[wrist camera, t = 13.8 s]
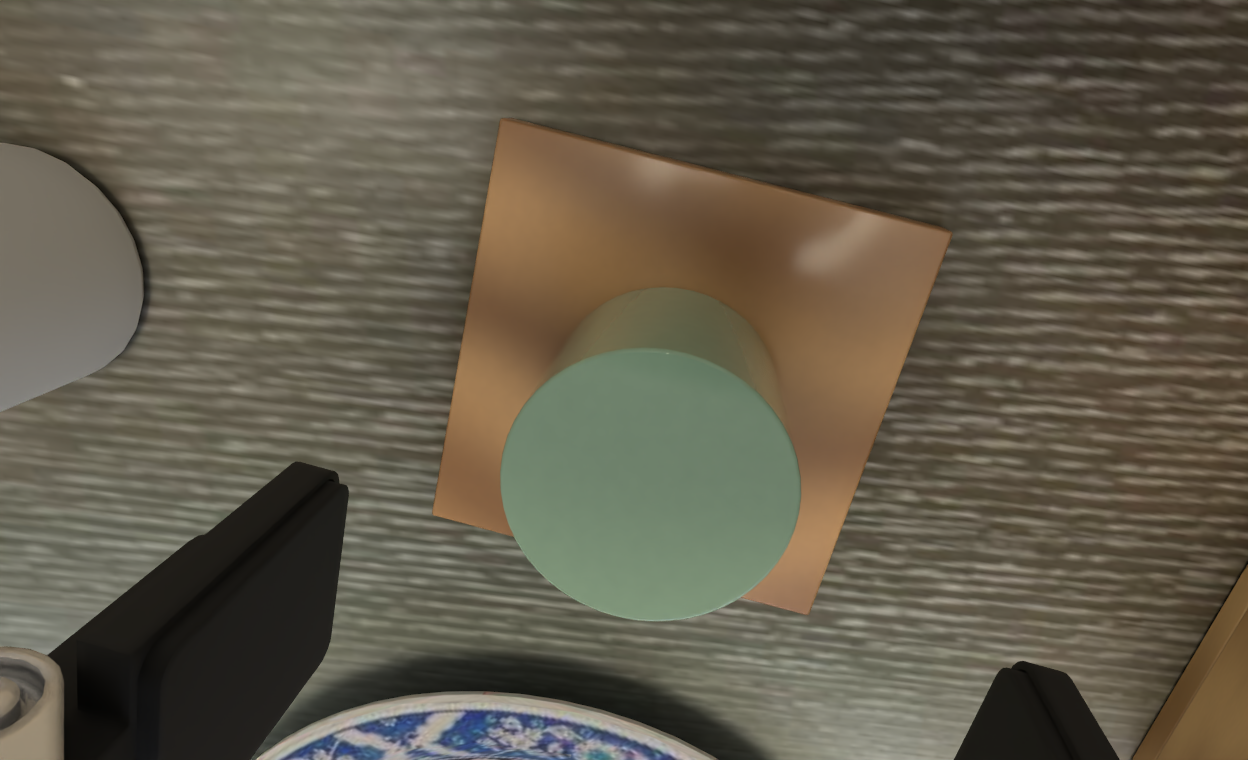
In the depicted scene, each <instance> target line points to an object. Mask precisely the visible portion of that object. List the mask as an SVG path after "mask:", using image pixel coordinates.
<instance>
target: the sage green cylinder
mask: <svg viewBox="0 0 1248 760" xmlns="http://www.w3.org/2000/svg"><path fill="white" fill-rule="evenodd" d="M500 490H501V496H502V503H503V508H504V511H505V514H506V518H507V521H508V524H509V526H510V529H511V531H512V533H513V535H514V537H515V540H516V541H517V543H518V545H519V546H520V548H521V550H522V551H523V553H524V554H525V556H526V557H527V558H528V560H529V561H530V562H531V563H532V565H533V566H534V567H535V568H536V570H538V571H539V572H540V573H541V574H542V575H543V576H544V577H545V578H546V579H547V580H548V581H549V582H550V583H551V584H553V585H554V586H555V587H556V588H558V589H559V590H560V591H562V592H563V593H564V594H566V595H568V596H569V597H571V598H573V599H574V600H576V601H578V602H579V603H582V604H584V605H586V606H588V607H590V608H593V609H595V610H597V611H600V612H603V613H606V614H609V615H613V616H617V617H621V618H626V619H631V620H640V621H674V620H682V619H688V618H692V617H696V616H700V615H704V614H707V613H710V612H712V611H715V610H718V609H720V608H723V607H725V606H726V605H728V604H730V603H732V602H734V601H736V600H738V599H739V598H741V597H742V596H744V595H745V594H746V593H748V592H749V591H751V590H752V589H753V588H754V587H755V586H757V585H758V584H759V583H760V582H761V581H762V580H763V579H764V578H765V577H766V576H767V575H768V574H769V573H770V571H771V570H772V569H773V568H774V567H775V565H776V564H777V563H778V561H779V560H780V558H781V557H782V555H783V553H784V552H785V550H786V549H787V547H788V545H789V542H790V540H791V538H792V535H793V533H794V531H795V527H796V523H797V520H798V516H799V511H800V503H801V475H800V470H799V464H798V459H797V454H796V450H795V446H794V442H793V438H792V434H791V430H790V426H789V421H788V417H787V413H786V409H785V405H784V401H783V397H782V393H781V389H780V384H779V380H778V376H777V372H776V369H775V366H774V363H773V360H772V357H771V355H770V353H769V351H768V349H767V347H766V345H765V343H764V342H763V340H762V339H761V337H760V336H759V334H758V333H757V332H756V330H755V329H754V328H753V327H752V326H751V325H750V324H749V323H748V321H747V320H745V319H744V318H743V317H742V316H741V315H740V314H738V313H737V312H736V311H735V310H733V309H732V308H730V307H729V306H727V305H726V304H724V303H722V302H720V301H718V300H716V299H714V298H712V297H710V296H708V295H705V294H702V293H698V292H695V291H692V290H686V289H681V288H670V287H656V288H645V289H641V290H636V291H631V292H628V293H625V294H623V295H620V296H617V297H615V298H613V299H611V300H609V301H607V302H605V303H603V304H602V305H600V306H599V307H597V308H596V309H595V310H593V311H592V312H591V313H589V314H588V315H587V316H586V317H585V318H584V319H583V320H582V321H581V322H580V323H579V324H578V325H577V327H576V328H575V329H574V330H573V331H572V333H571V334H570V336H569V337H568V339H567V340H566V342H565V343H564V345H563V346H562V348H561V349H560V351H559V352H558V354H557V355H556V357H555V358H554V360H553V361H552V363H551V364H550V366H549V368H548V369H547V371H546V372H545V374H544V375H543V377H542V378H541V380H540V381H539V383H538V384H537V386H536V387H535V389H534V390H533V392H532V393H531V395H530V396H529V398H528V399H527V401H526V402H525V404H524V406H523V407H522V409H521V410H520V412H519V414H518V415H517V417H516V418H515V420H514V422H513V424H512V427H511V429H510V431H509V433H508V436H507V439H506V442H505V446H504V449H503V453H502V460H501V468H500Z"/></svg>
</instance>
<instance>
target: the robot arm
mask: <svg viewBox="0 0 1248 760" xmlns="http://www.w3.org/2000/svg"><path fill="white" fill-rule="evenodd" d="M348 496H349V490H348V487H347V486H346V485H343V484H339V477H338V474H337V473H336V472H335V471H331V470H328V469H324V468H320V467H317V466H313V465H309V464H306V463H302V462H295V463H293V464H291V465H290V466H289V467H287V468H286V469H285V470H284V471H283V472H281V473H280V474H279V475H278V476H276V477H275V478H274V479H273V480H272V481H270V482H269V483H268V484H267V485H265V486H264V487H263V488H262V489H261V490H259V491H258V492H257V493H256V494H254V495H253V496H252V497H251V498H250V499H248V500H247V501H246V502H245V503H243V504H242V505H241V506H240V507H238V508H237V509H236V510H235V511H234V512H232V513H231V514H230V515H229V516H227V517H226V518H225V519H224V520H223V521H221V522H220V523H219V524H218V525H216V526H215V527H214V528H213V529H212V530H210V531H209V532H208V533H207V534H205V535H200V536H197V537H195V538H194V539H192V540H190V541H189V542H188V543H186V544H185V545H184V546H183V547H181V548H180V549H179V550H178V551H176V552H175V553H174V554H173V555H171V556H170V557H169V558H168V559H166V560H165V561H164V562H163V563H161V564H160V565H159V566H158V567H156V568H155V569H154V570H153V571H151V572H150V573H149V574H148V575H147V576H145V577H144V578H143V579H142V580H140V581H139V582H138V583H137V584H135V585H134V586H133V587H132V588H130V589H129V590H128V591H127V592H125V593H124V594H123V595H122V596H120V597H119V598H118V599H117V600H115V601H114V602H113V603H112V604H110V605H109V606H108V607H107V608H106V609H104V610H103V611H102V612H101V613H99V614H98V615H97V616H96V617H94V618H93V619H92V620H91V621H89V622H88V623H87V624H86V625H84V626H83V627H82V628H81V629H79V630H78V631H77V632H76V633H74V634H73V635H72V636H71V637H69V638H68V639H67V640H66V641H64V642H63V643H62V644H61V645H60V646H58V647H57V648H56V649H55V650H53V651H52V652H51V653H50V654H48V655H44V654H42V653H39V652H36V651H34V650H31V649H26V648H16V647H7V646H6V647H0V760H250V759H251V758H252V756H253V755H254V753H255V752H256V751H257V749H258V748H259V747H260V745H261V744H262V743H263V741H264V740H265V738H266V737H267V736H268V734H269V733H270V732H271V730H272V729H273V728H274V726H275V725H276V723H277V722H278V721H279V719H280V718H281V717H282V715H283V714H284V713H285V711H286V710H287V708H288V707H289V706H290V704H291V703H292V702H293V700H294V699H295V698H296V696H297V695H298V693H299V692H300V691H301V689H302V688H303V687H304V685H305V684H306V683H307V681H308V680H309V678H310V677H311V676H312V674H313V673H314V672H315V670H316V669H317V668H318V666H319V665H320V663H321V662H322V660H323V658H324V656H325V654H326V652H327V649H328V646H329V643H330V639H331V633H332V625H333V617H334V609H335V601H336V593H337V585H338V577H339V569H340V561H341V553H342V545H343V536H344V528H345V520H346V512H347V504H348ZM954 760H1119V758H1118V756H1117V755H1116V753H1115V751H1114V750H1113V748H1112V746H1111V745H1110V743H1109V741H1108V740H1107V738H1106V736H1105V735H1104V733H1103V731H1102V729H1101V728H1100V726H1099V724H1098V723H1097V721H1096V719H1095V718H1094V716H1093V714H1092V713H1091V711H1090V709H1089V708H1088V706H1087V704H1086V703H1085V701H1084V699H1083V698H1082V696H1081V694H1080V693H1079V691H1078V689H1077V688H1076V686H1075V684H1074V683H1073V681H1072V679H1071V678H1070V677H1069V676H1068V675H1067V674H1066V673H1064V672H1061V671H1058V670H1054V669H1050V668H1047V667H1043V666H1039V665H1036V664H1032V663H1029V662H1025V661H1020V662H1017V663H1016V664H1015V665H1013V667H1012V668H1011V669H1010V668H1003V669H1001V670H1000V671H999V672H998V674H997V675H996V677H995V679H994V681H993V683H992V685H991V687H990V689H989V691H988V693H987V695H986V697H985V699H984V701H983V703H982V705H981V707H980V709H979V711H978V713H977V715H976V717H975V719H974V721H973V723H972V725H971V727H970V729H969V731H968V733H967V735H966V737H965V739H964V741H963V743H962V745H961V747H960V749H959V751H958V753H957V755H956V757H955V759H954Z"/></svg>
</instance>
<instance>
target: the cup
mask: <svg viewBox="0 0 1248 760" xmlns="http://www.w3.org/2000/svg"><path fill="white" fill-rule="evenodd" d="M143 299H144V286H143V268H142V265H141V261H140V258H139V254H138V251H137V248H136V244H135V241H134V239H133V237H132V235H131V233H130V231H129V230H128V228H127V226H126V224H125V222H124V220H123V218H122V217H121V215H120V213H119V212H118V211H117V209H116V208H115V207H114V206H113V205H112V203H111V202H110V201H109V200H108V199H107V198H106V196H105V195H104V194H103V193H102V192H101V191H100V189H99V188H98V187H96V186H95V185H94V184H92V183H91V182H90V181H89V180H87V179H86V178H85V177H83V176H82V175H81V174H80V173H78V172H77V171H76V170H74V169H73V168H72V167H71V166H69V165H68V164H67V163H65V162H63V161H61V160H59V159H57V158H55V157H52V156H50V155H48V154H46V153H44V152H42V151H39V150H37V149H35V148H30V147H24V146H19V145H14V144H8V143H0V412H1V411H3V410H6V409H8V408H11V407H13V406H15V405H18V404H20V403H23V402H25V401H28V400H30V399H32V398H35V397H37V396H40V395H42V394H44V393H47V392H49V391H52V390H54V389H56V388H59V387H61V386H64V385H66V384H69V383H71V382H73V381H76V380H78V379H81V378H83V377H85V376H88V375H90V374H92V373H94V372H96V371H97V370H99V369H101V368H103V367H105V366H106V365H107V364H108V363H110V362H111V361H112V360H113V359H114V358H115V357H117V356H118V355H119V354H120V353H121V352H123V350H124V349H125V347H126V345H127V344H128V342H129V340H130V339H131V337H132V335H133V334H134V332H135V330H136V328H137V325H138V321H139V316H140V312H141V308H142V303H143Z"/></svg>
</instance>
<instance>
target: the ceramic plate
mask: <svg viewBox="0 0 1248 760" xmlns="http://www.w3.org/2000/svg"><path fill="white" fill-rule="evenodd" d="M256 760H718V759H717V758H715V757H713V756H712V755H710V754H708V753H706V752H704V751H702V750H700V749H698V748H696V747H694V746H692V745H690V744H688V743H687V742H685V741H683V740H681V739H679V738H677V737H675V736H672V735H670V734H667V733H665V732H662V731H660V730H658V729H655V728H653V727H650V726H648V725H646V724H643V723H641V722H638V721H635V720H632V719H629V718H626V717H623V716H620V715H616V714H613V713H610V712H607V711H604V710H601V709H597V708H593V707H588V706H584V705H580V704H576V703H572V702H568V701H563V700H557V699H551V698H545V697H538V696H532V695H525V694H514V693H501V692H488V691H458V692H437V693H426V694H416V695H408V696H402V697H397V698H392V699H386V700H381V701H375V702H372V703H368V704H365V705H361V706H358V707H354V708H351V709H348V710H344V711H341V712H339V713H336V714H334V715H331V716H329V717H326V718H324V719H321V720H319V721H316V722H314V723H312V724H310V725H308V726H306V727H304V728H302V729H300V730H299V731H297V732H295V733H293V734H291V735H289V736H287V737H286V738H284V739H283V740H281V741H280V742H278V743H277V744H276V745H274V746H273V747H271V748H270V749H268V750H267V751H265V752H264V753H263V754H261V755H260V756H259V757H258V758H257V759H256Z"/></svg>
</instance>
